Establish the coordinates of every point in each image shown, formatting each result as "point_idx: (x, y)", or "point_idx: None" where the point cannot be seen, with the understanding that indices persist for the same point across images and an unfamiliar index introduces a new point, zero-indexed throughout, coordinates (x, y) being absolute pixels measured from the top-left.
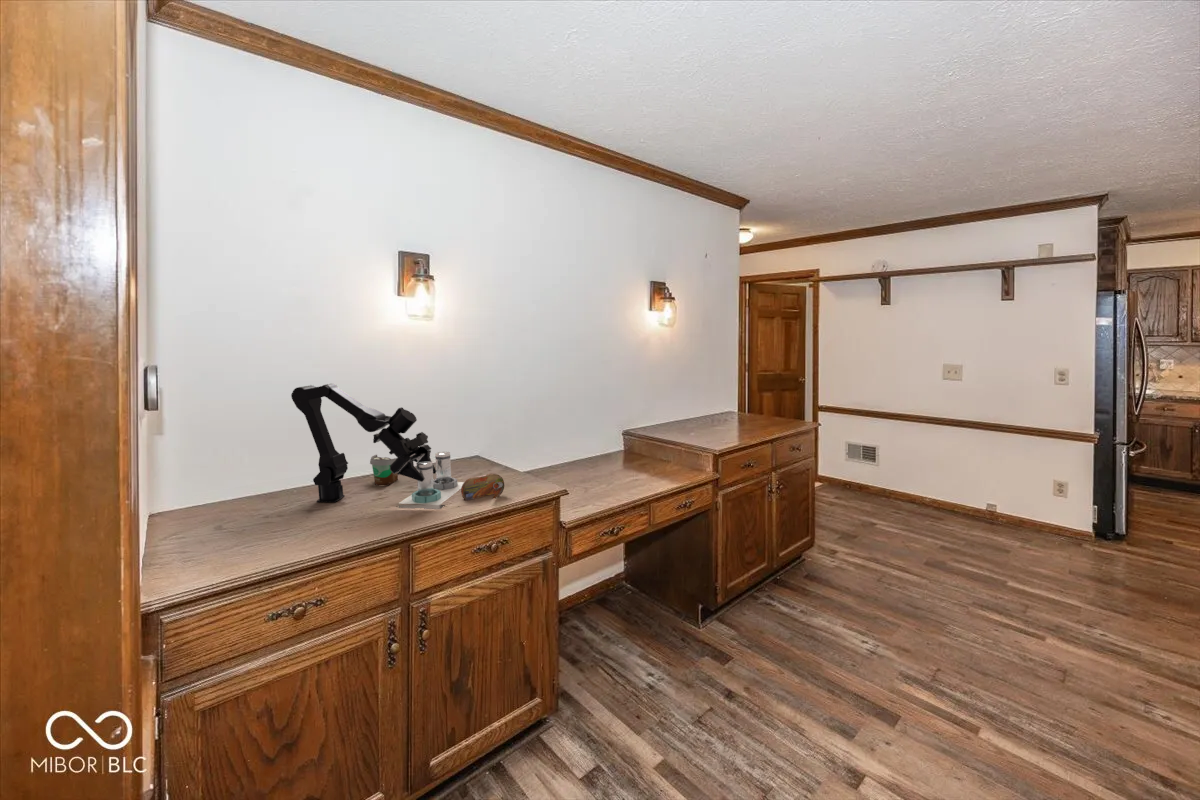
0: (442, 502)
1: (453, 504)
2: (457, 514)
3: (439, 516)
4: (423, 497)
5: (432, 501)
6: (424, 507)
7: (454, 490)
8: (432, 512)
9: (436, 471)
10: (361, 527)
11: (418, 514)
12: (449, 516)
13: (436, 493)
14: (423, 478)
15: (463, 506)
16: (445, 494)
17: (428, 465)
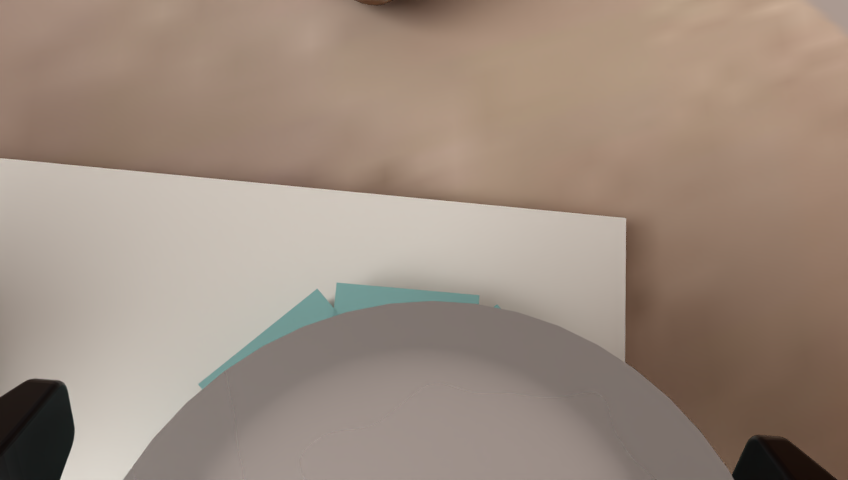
0: (533, 214)
1: (424, 136)
2: (725, 12)
3: (807, 169)
4: None
5: None
6: None
7: (11, 213)
8: (704, 285)
9: (34, 378)
10: None
11: (788, 424)
12: (790, 71)
13: None
14: (780, 446)
15: (485, 14)
16: (199, 281)
17: (631, 382)
